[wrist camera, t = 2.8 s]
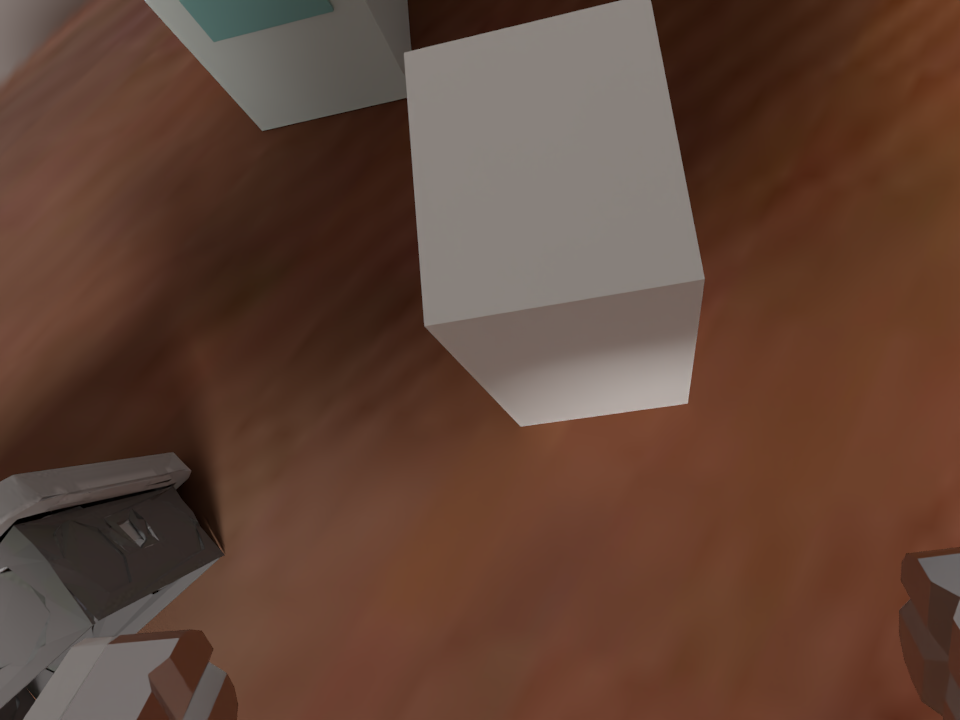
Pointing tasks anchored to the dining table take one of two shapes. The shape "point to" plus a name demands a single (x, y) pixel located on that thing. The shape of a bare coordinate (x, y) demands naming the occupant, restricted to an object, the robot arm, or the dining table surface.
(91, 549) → the electrical switch
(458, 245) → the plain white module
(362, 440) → the dining table surface
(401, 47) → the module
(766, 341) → the dining table surface
